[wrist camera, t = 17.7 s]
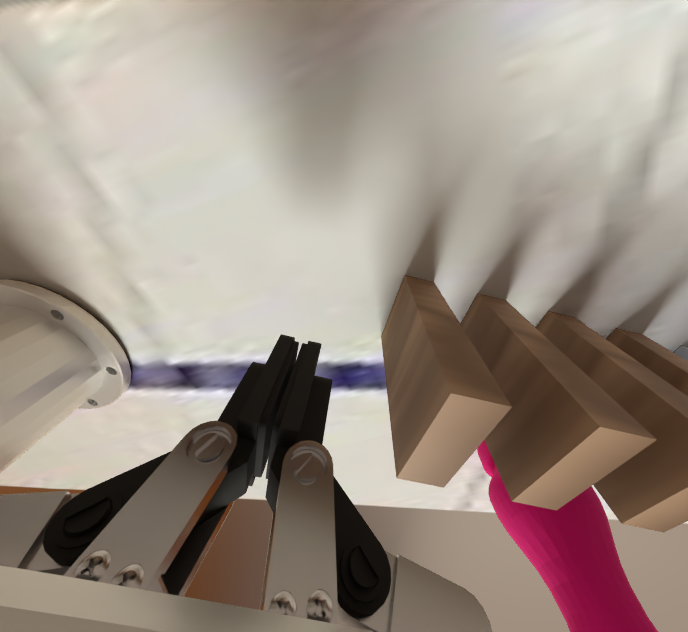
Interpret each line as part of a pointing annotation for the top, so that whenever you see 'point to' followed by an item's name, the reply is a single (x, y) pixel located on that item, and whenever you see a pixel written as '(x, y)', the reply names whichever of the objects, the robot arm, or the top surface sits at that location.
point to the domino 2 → (547, 412)
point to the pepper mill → (572, 557)
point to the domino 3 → (653, 357)
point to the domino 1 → (435, 387)
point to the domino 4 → (647, 409)
